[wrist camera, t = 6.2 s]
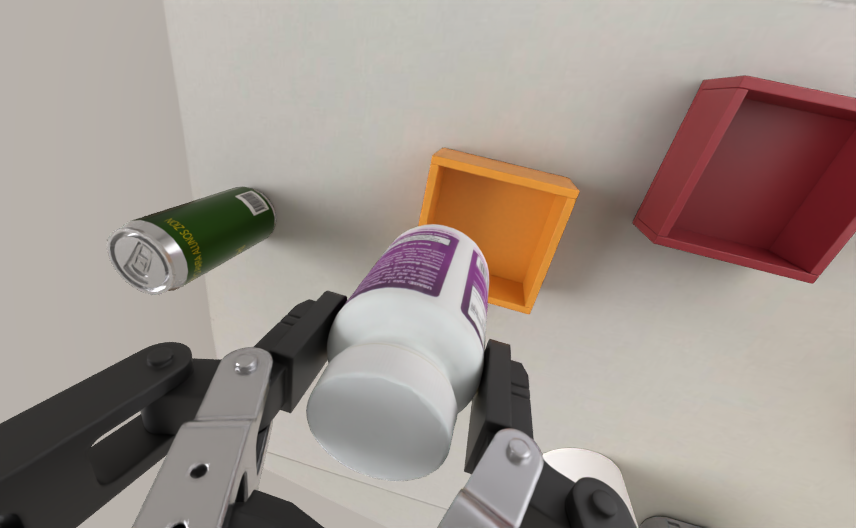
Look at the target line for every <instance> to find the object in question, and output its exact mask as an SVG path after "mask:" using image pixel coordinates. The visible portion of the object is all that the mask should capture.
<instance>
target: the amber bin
mask: <svg viewBox="0 0 856 528" xmlns="http://www.w3.org/2000/svg"><path fill="white" fill-rule="evenodd" d="M579 192H580V191H579V190H578V189H577V187H576V186H575V185H574V184H573V183H572V181H571V180H570V179H569V178H567V177H563V176H559V175H555V174H551V173H546V172H542V171H538V170H534V169H530V168H526V167H522V166H518V165H513V164H509V163H505V162H501V161H497V160H493V159H489V158H484V157H480V156H476V155H472V154H468V153H464V152H460V151H456V150H451V149H447V148H442V149H440V150H439V151H438V152H436V153H435V154H434V155H432V160H431V165H430V170H429V175H428V180H427V185H426V190H425V195H424V200H423V205H422V210H421V215H420V220H419V225H418V226H423V225H430V224H436V225H443V226H447V227H450V228H454V229H456V230H458V231H460V232H462V233H464V234H465V235H467V236H468V237H469V238H470V239H471V240H473V241H474V242H475V243H476V245H477V246H478V247H479V249H480V250H481V252H482V254H483V256H484V258H485V260H486V263H487V266H488V271H489V290H488V303H490V304H494V305H497V306H501V307H504V308H508V309H512V310H515V311H519V312H522V313H526V314H530V312H531V310H532V307H533V305H534V303H535V300H536V298H537V295H538V293H539V290H540V288H541V285H542V283H543V280H544V278H545V276H546V273H547V271H548V268H549V266H550V263H551V261H552V258H553V256H554V254H555V251H556V249H557V246H558V244H559V241H560V239H561V236H562V234H563V231H564V229H565V227H566V224H567V222H568V219H569V217H570V214H571V212H572V209H573V207H574V205H575V202H576V199H577V197H578V195H579Z"/></svg>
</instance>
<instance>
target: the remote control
mask: <svg viewBox="0 0 856 528" xmlns="http://www.w3.org/2000/svg"><path fill="white" fill-rule="evenodd" d="M639 528H700V527H697V526H694V525H690V524H687V523H684V522H680V521H677V520H674V519H671V518H667V517H652V518H649V519H646V520H645V521H644V522H643V523H642V524H641V525H640V527H639Z"/></svg>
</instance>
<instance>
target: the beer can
mask: <svg viewBox="0 0 856 528" xmlns="http://www.w3.org/2000/svg"><path fill="white" fill-rule="evenodd" d="M275 224H276V212H275V209H274V206H273V205H272V203H271V202H270V200H269V199H268V198H267V197H266V196H265V195H264V194H263V193H261V192H259V191H258V190H255V189H251V188H247V187H236V188H233V189H229V190H226V191H223V192H220V193H217V194H214V195H211V196H207V197H204V198H201V199H198V200H195V201H192V202H189V203H186V204H183V205H179V206H176V207H173V208H170V209H167V210H164V211H160V212H157V213H154V214H151V215H148V216H145V217H142V218H139V219H136V220H132V221H130V222H128V223H126V224H125V225H123V227H122V228H120V229H117V230H116V231H114V232H112V233H111V234H110V236H109V238H108V240H107V252H108V255H109V259H110V261H111V263H112V264H113V267H114V268H115V270H116V271H117V272H118V274H119V275H120V276H121V277H122V278H123V279H124V280H125V281H126V282H127V283H128V284H130V285H131V286H132V287H134V288H136V289H137V290H139V291H141V292H145V293H148V294H152V295H153V294H154V295H156V294H162V293H164V292H166V291H171V290H176V289H178V288H180V287H182V286H184V285H186V284H187V283H189V282H191V281H193V280H194V279H196V278H198V277H200V276H201V275H203V274H205V273H207V272H208V271H210V270H212V269H214V268H215V267H217V266H219V265H221V264H222V263H224V262H226V261H228V260H229V259H231V258H233V257H235V256H236V255H238V254H240V253H242V252H243V251H245V250H247V249H249V248H250V247H252V246H254V245H256V244H257V243H259V242H261V241H263V240H264V239H266V238H268V237H269V236H270V234H271V233H272V232H273V230H274V227H275Z"/></svg>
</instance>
